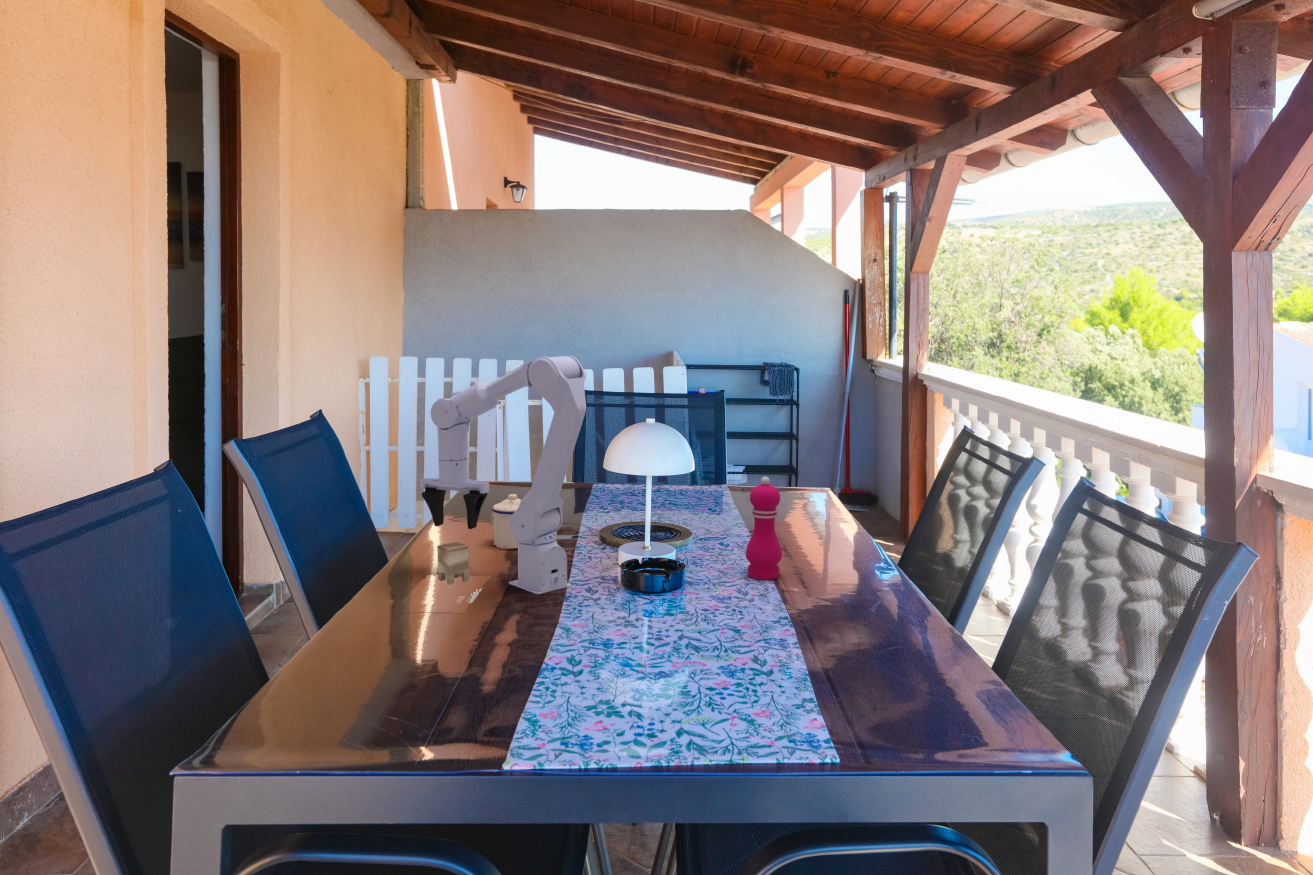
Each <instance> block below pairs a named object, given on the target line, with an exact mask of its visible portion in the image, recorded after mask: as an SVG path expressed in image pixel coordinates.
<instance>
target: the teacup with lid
mask: <svg viewBox="0 0 1313 875" xmlns="http://www.w3.org/2000/svg"><path fill="white" fill-rule="evenodd" d="M521 500H522V499H520V498H518V495H517V494H515V493H510V494H509V495H507V498H506V499H504V500H502V501H501V502H499V503H496V504H494V505H493V506H492V513H491V515H490V521H491V526H492V528H493V546H494V545H496V546H498V547H501V548H518V543H517V542H516V538H515V537H514V536H513V534H512V532H511V530H510V518H511V516H512V515H513V513H514V512H515V511H516V510H517V509H518V507H519V505H520V502H521Z"/></svg>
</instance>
